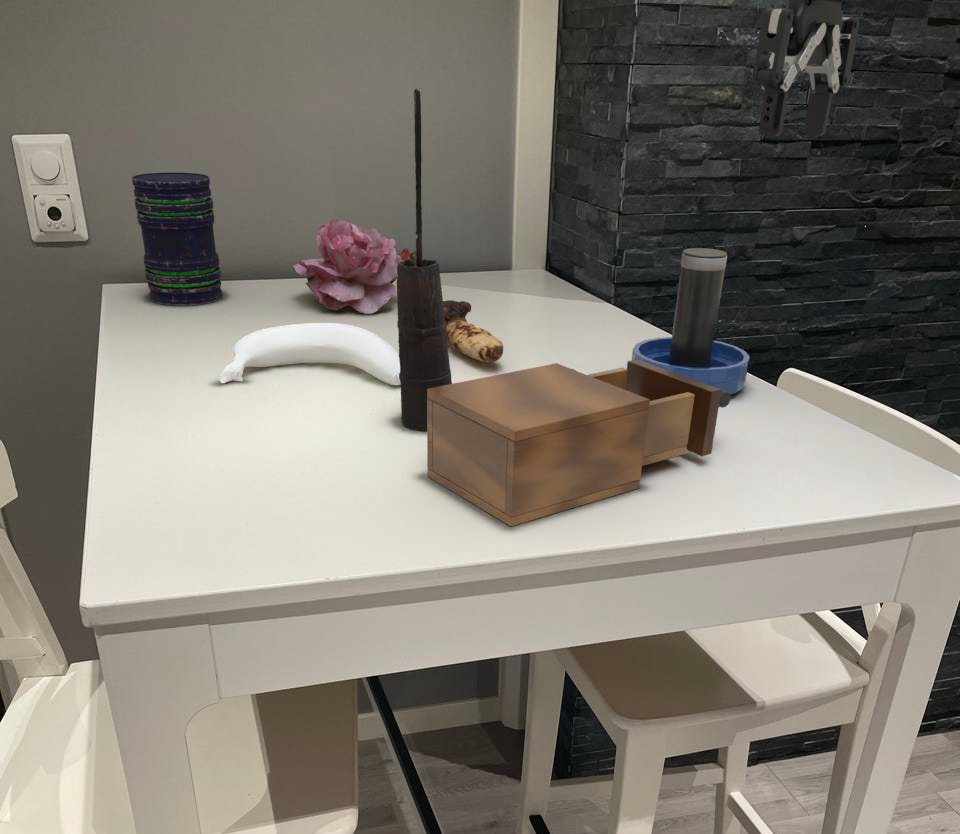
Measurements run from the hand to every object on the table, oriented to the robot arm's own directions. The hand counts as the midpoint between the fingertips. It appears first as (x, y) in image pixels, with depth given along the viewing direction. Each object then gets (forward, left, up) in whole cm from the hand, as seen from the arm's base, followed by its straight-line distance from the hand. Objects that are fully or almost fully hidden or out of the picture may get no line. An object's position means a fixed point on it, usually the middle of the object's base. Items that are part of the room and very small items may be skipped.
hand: (792, 135), depth 98 cm
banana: (+23, +44, -24) cm, 55 cm away
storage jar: (+64, +42, -24) cm, 80 cm away
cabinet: (-12, +42, -24) cm, 50 cm away
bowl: (0, +11, -24) cm, 26 cm away
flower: (+50, +24, -24) cm, 60 cm away
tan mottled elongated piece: (+23, +26, -24) cm, 42 cm away
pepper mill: (0, +11, -23) cm, 26 cm away
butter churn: (+6, +41, -24) cm, 48 cm away
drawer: (-12, +30, -23) cm, 40 cm away
